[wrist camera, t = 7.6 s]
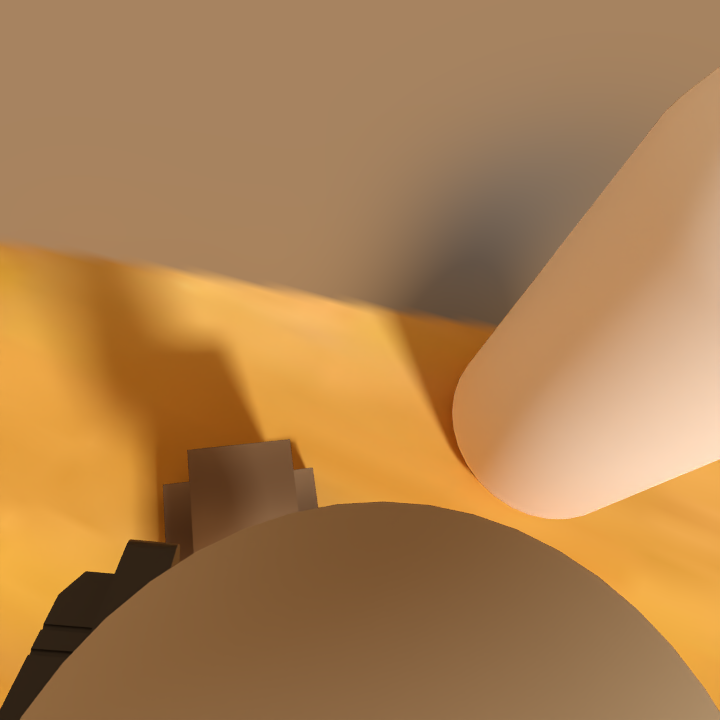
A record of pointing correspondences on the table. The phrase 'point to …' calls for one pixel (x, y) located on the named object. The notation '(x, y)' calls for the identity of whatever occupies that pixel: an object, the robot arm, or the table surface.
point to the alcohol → (611, 338)
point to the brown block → (234, 493)
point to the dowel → (375, 631)
